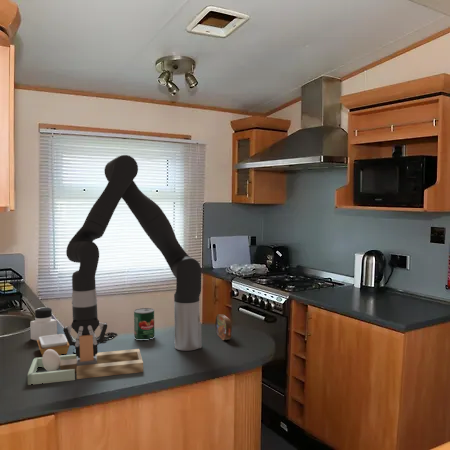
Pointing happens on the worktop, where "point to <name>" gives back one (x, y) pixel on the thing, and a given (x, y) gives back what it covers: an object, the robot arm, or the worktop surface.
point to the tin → (223, 327)
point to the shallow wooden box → (112, 364)
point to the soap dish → (53, 343)
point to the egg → (51, 360)
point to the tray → (50, 372)
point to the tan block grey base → (86, 351)
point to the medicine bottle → (43, 323)
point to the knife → (109, 335)
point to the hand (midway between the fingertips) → (86, 356)
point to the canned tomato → (144, 323)
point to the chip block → (68, 364)
